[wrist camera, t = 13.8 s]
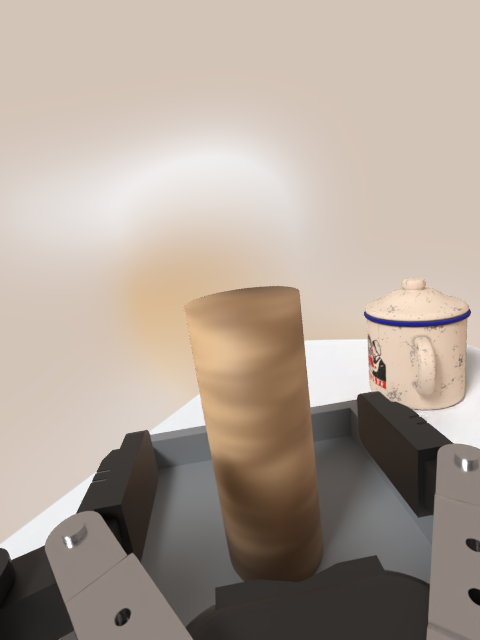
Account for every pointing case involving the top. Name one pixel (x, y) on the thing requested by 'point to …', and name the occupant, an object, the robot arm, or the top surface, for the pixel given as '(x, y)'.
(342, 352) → the top surface
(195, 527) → the bin
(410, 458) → the robot arm
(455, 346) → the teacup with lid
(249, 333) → the oak cylinder
